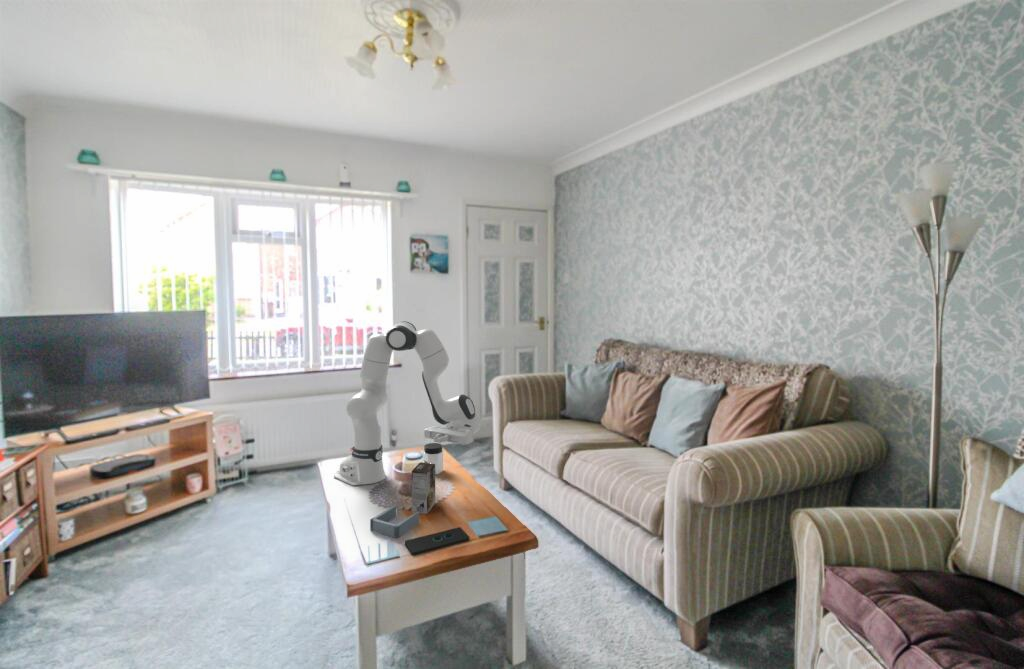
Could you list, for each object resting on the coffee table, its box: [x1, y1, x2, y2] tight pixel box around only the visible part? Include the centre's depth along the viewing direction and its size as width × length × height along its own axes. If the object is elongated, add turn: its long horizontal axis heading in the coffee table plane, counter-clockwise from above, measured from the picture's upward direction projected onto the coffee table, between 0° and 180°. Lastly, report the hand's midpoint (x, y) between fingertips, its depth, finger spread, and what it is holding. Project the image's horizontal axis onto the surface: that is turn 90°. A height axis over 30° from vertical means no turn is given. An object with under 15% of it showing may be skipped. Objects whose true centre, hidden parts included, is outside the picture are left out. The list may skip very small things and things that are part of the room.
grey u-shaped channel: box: [369, 505, 420, 540], centre depth 169 cm, size 11×12×4 cm
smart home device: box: [404, 526, 470, 557], centre depth 160 cm, size 8×2×20 cm
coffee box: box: [411, 461, 436, 514], centre depth 184 cm, size 9×6×16 cm
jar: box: [422, 442, 444, 475], centre depth 220 cm, size 9×8×12 cm
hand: (436, 440), depth 190 cm, fingers closed
